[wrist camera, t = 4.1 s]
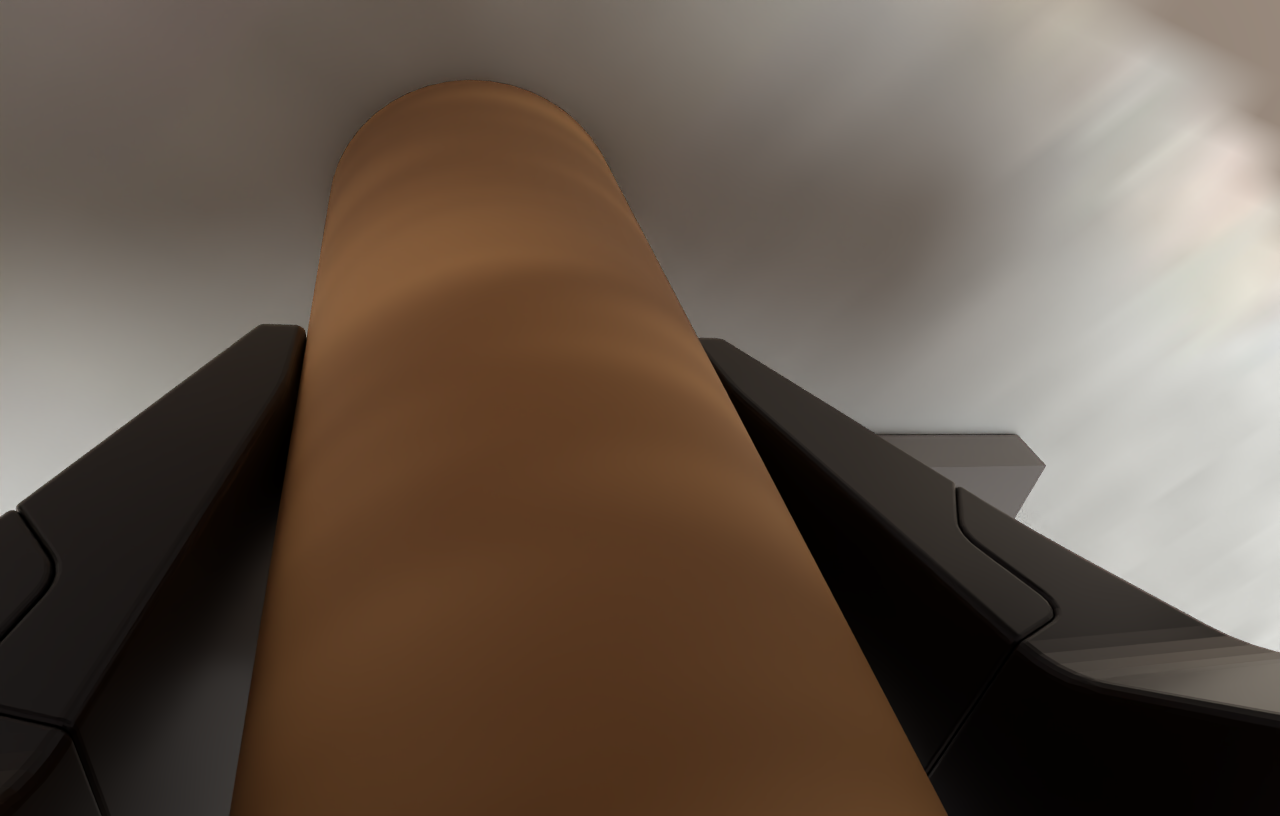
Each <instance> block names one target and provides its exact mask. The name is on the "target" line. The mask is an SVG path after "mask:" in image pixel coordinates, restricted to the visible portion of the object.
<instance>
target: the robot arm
mask: <svg viewBox="0 0 1280 816" xmlns="http://www.w3.org/2000/svg"><path fill="white" fill-rule="evenodd" d="M698 339H699V341H700V343H701V345H702V346H703V348H704V350H705V352H706V354H707V356H708V358H709V360H710V362H711V364H712V366H713V367H714V369H715V371H716V373H717V375H718V377H719V379H720V381H721V383H722V385H723V387H724V388H725V390H726V392H727V394H728V396H729V398H730V400H731V402H732V404H733V406H734V408H735V409H736V411H737V413H738V415H739V417H740V419H741V421H742V423H743V425H744V427H745V429H746V431H747V432H748V434H749V436H750V438H751V440H752V442H753V444H754V446H755V448H756V450H757V452H758V453H759V455H760V457H761V459H762V461H763V463H764V465H765V467H766V469H767V471H768V473H769V474H770V476H771V478H772V480H773V482H774V484H775V486H776V488H777V490H778V492H779V494H780V495H781V497H782V499H783V501H784V503H785V505H786V507H787V509H788V511H789V513H790V515H791V516H792V518H793V520H794V522H795V524H796V526H797V528H798V530H799V532H800V534H801V536H802V537H803V539H804V541H805V543H806V545H807V547H808V549H809V551H810V553H811V555H812V557H813V558H814V560H815V562H816V564H817V566H818V568H819V570H820V572H821V574H822V576H823V578H824V579H825V581H826V583H827V585H828V587H829V589H830V591H831V593H832V595H833V597H834V599H835V600H836V602H837V604H838V606H839V608H840V610H841V612H842V614H843V616H844V618H845V620H846V621H847V623H848V625H849V627H850V629H851V631H852V633H853V635H854V637H855V639H856V641H857V643H858V644H859V646H860V648H861V650H862V652H863V654H864V656H865V658H866V660H867V662H868V664H869V665H870V667H871V669H872V671H873V673H874V675H875V677H876V679H877V681H878V683H879V685H880V686H881V688H882V690H883V692H884V694H885V696H886V698H887V700H888V702H889V704H890V706H891V707H892V709H893V711H894V713H895V715H896V717H897V719H898V721H899V723H900V725H901V727H902V728H903V730H904V732H905V734H906V736H907V738H908V740H909V742H910V744H911V746H912V748H913V749H914V751H915V753H916V755H917V757H918V759H919V761H920V763H921V765H922V767H923V769H924V770H925V772H926V774H927V776H928V778H929V780H930V782H931V784H932V786H933V788H934V790H935V791H936V793H937V795H938V797H939V799H940V801H941V803H942V805H943V807H944V809H945V811H946V812H947V814H948V816H1280V652H1276V651H1273V650H1269V649H1266V648H1262V647H1259V646H1256V645H1252V644H1250V643H1247V642H1244V641H1242V640H1239V639H1237V638H1234V637H1232V636H1229V635H1227V634H1225V633H1223V632H1221V631H1219V630H1217V629H1215V628H1213V627H1211V626H1208V625H1206V624H1205V623H1203V622H1201V621H1199V620H1197V619H1195V618H1193V617H1192V616H1190V615H1188V614H1186V613H1184V612H1182V611H1181V610H1179V609H1177V608H1175V607H1173V606H1171V605H1169V604H1168V603H1166V602H1164V601H1162V600H1160V599H1158V598H1156V597H1155V596H1153V595H1151V594H1149V593H1147V592H1145V591H1144V590H1142V589H1140V588H1138V587H1136V586H1134V585H1132V584H1131V583H1129V582H1127V581H1125V580H1123V579H1121V578H1119V577H1118V576H1116V575H1114V574H1112V573H1110V572H1108V571H1106V570H1105V569H1103V568H1101V567H1099V566H1097V565H1095V564H1094V563H1092V562H1090V561H1088V560H1086V559H1084V558H1083V557H1081V556H1079V555H1077V554H1075V553H1074V552H1072V551H1070V550H1068V549H1066V548H1065V547H1063V546H1061V545H1059V544H1057V543H1056V542H1054V541H1052V540H1050V539H1048V538H1047V537H1045V536H1043V535H1041V534H1039V533H1038V532H1036V531H1034V530H1032V529H1031V528H1029V527H1027V526H1026V525H1024V524H1022V523H1021V522H1019V521H1017V520H1015V519H1014V518H1012V517H1010V516H1009V515H1007V514H1005V513H1004V512H1002V511H1000V510H999V509H997V508H995V507H994V506H992V505H990V504H989V503H987V502H985V501H984V500H982V499H981V498H979V497H977V496H976V495H974V494H973V493H971V492H969V491H968V490H966V489H965V488H963V487H957V488H956V486H955V483H954V482H953V481H951V480H950V479H948V478H946V477H945V476H943V475H942V474H940V473H938V472H937V471H935V470H934V469H932V468H930V467H929V466H927V465H925V464H924V463H922V462H921V461H919V460H917V459H916V458H914V457H912V456H911V455H909V454H908V453H906V452H904V451H903V450H901V449H900V448H898V447H896V446H895V445H893V444H891V443H890V442H888V441H887V440H885V439H883V438H882V437H880V436H878V435H877V434H875V433H874V432H872V431H870V430H869V429H867V428H866V427H864V426H862V425H861V424H859V423H857V422H856V421H854V420H853V419H851V418H849V417H848V416H846V415H845V414H843V413H841V412H840V411H838V410H836V409H835V408H833V407H832V406H830V405H828V404H827V403H825V402H823V401H822V400H820V399H819V398H817V397H815V396H814V395H812V394H811V393H809V392H807V391H806V390H804V389H802V388H801V387H799V386H798V385H796V384H794V383H793V382H791V381H790V380H788V379H786V378H785V377H783V376H781V375H780V374H778V373H777V372H775V371H773V370H772V369H770V368H769V367H767V366H765V365H764V364H762V363H760V362H759V361H757V360H756V359H754V358H752V357H751V356H749V355H748V354H746V353H744V352H743V351H741V350H739V349H738V348H736V347H735V346H733V345H731V344H730V343H728V342H726V341H725V340H723V339H718V338H698ZM306 340H307V338H306V333H305V330H304V329H303V328H302V327H301V326H298V325H282V324H262V325H259V326H257V327H256V328H254V329H253V330H251V331H250V332H249V333H247V334H246V335H245V336H243V337H242V338H241V339H239V340H238V341H237V342H235V343H234V344H233V345H231V346H230V347H229V348H227V349H226V350H225V351H223V352H222V353H221V354H219V355H218V356H217V357H215V358H214V359H213V360H211V361H210V362H208V363H207V364H206V365H204V366H203V367H202V368H200V369H199V370H198V371H196V372H195V373H194V374H192V375H191V376H190V377H188V378H187V379H186V380H184V381H183V382H182V383H180V384H179V385H178V386H176V387H175V388H174V389H172V390H171V391H169V392H168V393H167V394H165V395H164V396H163V397H161V398H160V399H159V400H157V401H156V402H155V403H153V404H152V405H151V406H149V407H148V408H147V409H145V410H144V411H143V412H141V413H140V414H139V415H137V416H136V417H135V418H133V419H132V420H130V421H129V422H128V423H126V424H125V425H124V426H122V427H121V428H120V429H118V430H117V431H116V432H114V433H113V434H112V435H110V436H109V437H108V438H106V439H105V440H104V441H102V442H101V443H100V444H98V445H97V446H96V447H94V448H93V449H92V450H90V451H89V452H87V453H86V454H85V455H83V456H82V457H81V458H79V459H78V460H77V461H75V462H74V463H73V464H71V465H70V466H69V467H67V468H66V469H65V470H63V471H62V472H61V473H59V474H58V475H57V476H55V477H54V478H53V479H51V480H50V481H48V482H47V483H46V484H44V485H43V486H42V487H40V488H39V489H38V490H36V491H35V492H34V493H32V494H31V495H30V496H28V497H27V498H26V499H24V500H23V501H22V502H20V503H19V504H18V505H17V507H16V511H14V510H11V511H8V512H6V513H5V514H4V515H2V516H1V517H0V816H229V814H230V808H231V802H232V796H233V789H234V783H235V777H236V771H237V765H238V759H239V752H240V746H241V740H242V734H243V728H244V722H245V715H246V709H247V703H248V697H249V691H250V685H251V678H252V672H253V666H254V660H255V654H256V648H257V641H258V635H259V629H260V623H261V617H262V611H263V604H264V598H265V592H266V586H267V580H268V574H269V567H270V561H271V555H272V549H273V543H274V537H275V530H276V524H277V518H278V512H279V506H280V500H281V493H282V487H283V481H284V475H285V469H286V463H287V456H288V450H289V444H290V438H291V432H292V426H293V420H294V414H295V408H296V402H297V396H298V389H299V383H300V377H301V371H302V365H303V359H304V352H305V346H306Z"/></svg>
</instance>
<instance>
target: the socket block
mask: <svg viewBox="0 0 1280 816" xmlns="http://www.w3.org/2000/svg"><path fill="white" fill-rule="evenodd" d="M878 436H880V437H882V438H883V439H885V440H887V441H888V442H890V443H891V444H893V445H895V446H896V447H898V448H900V449H901V450H903V451H904V452H906V453H908V454H909V455H911V456H912V457H914V458H916V459H917V460H919V461H921V462H922V463H924V464H925V465H927V466H929V467H930V468H932V469H934V470H935V471H937V472H938V473H940V474H942V475H943V476H945V477H946V478H948V479H950V480H951V481H953V482H954V483H955V486H956V488H957V487H963V488H965V489H966V490H968V491H969V492H971V493H973V494H974V495H976V496H977V497H979V498H981V499H982V500H984V501H985V502H987V503H989V504H990V505H992V506H994V507H995V508H997V509H999V510H1000V511H1002V512H1004V513H1005V514H1007V515H1009V516H1010V517H1012V518H1015V517H1016V515H1017V513H1018V512H1019V510H1020V508H1021V507H1022V505H1023V503H1024V502H1025V500H1026V498H1027V497H1028V495H1029V493H1030V492H1031V490H1032V488H1033V487H1034V485H1035V483H1036V482H1037V480H1038V478H1039V477H1040V475H1041V473H1042V471H1043V470H1044V468H1045V466H1046V465H1045V464H1044V463H1043V462H1042V461H1041V460H1040V458H1039V457H1038V456H1037V455H1036V454H1035V453H1034V452H1033V451H1032V450H1031V449H1030V448H1029V447H1028V446H1027V444H1026V443H1025V442H1024V441H1023V440H1022V439H1021V438H1020V437H1019V436H1018V435H878Z"/></svg>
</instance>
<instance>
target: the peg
mask: <svg viewBox="0 0 1280 816" xmlns="http://www.w3.org/2000/svg"><path fill="white" fill-rule="evenodd" d="M229 816H948V814H947V812H946V811H945V809H944V807H943V805H942V803H941V801H940V799H939V797H938V795H937V793H936V791H935V790H934V788H933V786H932V784H931V782H930V780H929V778H928V776H927V774H926V772H925V770H924V769H923V767H922V765H921V763H920V761H919V759H918V757H917V755H916V753H915V751H914V749H913V748H912V746H911V744H910V742H909V740H908V738H907V736H906V734H905V732H904V730H903V728H902V727H901V725H900V723H899V721H898V719H897V717H896V715H895V713H894V711H893V709H892V707H891V706H890V704H889V702H888V700H887V698H886V696H885V694H884V692H883V690H882V688H881V686H880V685H879V683H878V681H877V679H876V677H875V675H874V673H873V671H872V669H871V667H870V665H869V664H868V662H867V660H866V658H865V656H864V654H863V652H862V650H861V648H860V646H859V644H858V643H857V641H856V639H855V637H854V635H853V633H852V631H851V629H850V627H849V625H848V623H847V621H846V620H845V618H844V616H843V614H842V612H841V610H840V608H839V606H838V604H837V602H836V600H835V599H834V597H833V595H832V593H831V591H830V589H829V587H828V585H827V583H826V581H825V579H824V578H823V576H822V574H821V572H820V570H819V568H818V566H817V564H816V562H815V560H814V558H813V557H812V555H811V553H810V551H809V549H808V547H807V545H806V543H805V541H804V539H803V537H802V536H801V534H800V532H799V530H798V528H797V526H796V524H795V522H794V520H793V518H792V516H791V515H790V513H789V511H788V509H787V507H786V505H785V503H784V501H783V499H782V497H781V495H780V494H779V492H778V490H777V488H776V486H775V484H774V482H773V480H772V478H771V476H770V474H769V473H768V471H767V469H766V467H765V465H764V463H763V461H762V459H761V457H760V455H759V453H758V452H757V450H756V448H755V446H754V444H753V442H752V440H751V438H750V436H749V434H748V432H747V431H746V429H745V427H744V425H743V423H742V421H741V419H740V417H739V415H738V413H737V411H736V409H735V408H734V406H733V404H732V402H731V400H730V398H729V396H728V394H727V392H726V390H725V388H724V387H723V385H722V383H721V381H720V379H719V377H718V375H717V373H716V371H715V369H714V367H713V366H712V364H711V362H710V360H709V358H708V356H707V354H706V352H705V350H704V348H703V346H702V345H701V343H700V341H699V339H698V337H697V335H696V333H695V331H694V329H693V327H692V325H691V324H690V322H689V320H688V318H687V316H686V314H685V312H684V310H683V308H682V306H681V304H680V303H679V301H678V299H677V297H676V295H675V293H674V291H673V289H672V287H671V285H670V283H669V282H668V280H667V278H666V276H665V274H664V272H663V270H662V268H661V266H660V264H659V262H658V261H657V259H656V257H655V255H654V253H653V251H652V249H651V247H650V245H649V243H648V241H647V240H646V238H645V236H644V234H643V232H642V230H641V228H640V226H639V224H638V222H637V220H636V219H635V217H634V215H633V213H632V211H631V209H630V207H629V205H628V203H627V201H626V199H625V198H624V196H623V194H622V192H621V190H620V188H619V186H618V184H617V182H616V180H615V178H614V176H613V175H612V173H611V171H610V169H609V167H608V165H607V163H606V161H605V159H604V157H603V155H602V154H601V152H600V150H599V149H598V147H597V146H596V144H595V143H594V141H593V140H592V138H591V137H590V136H589V135H588V134H587V132H586V131H585V130H584V129H583V128H582V127H581V126H580V124H579V123H578V122H576V121H575V120H574V119H573V118H572V117H571V116H569V115H568V114H567V113H566V112H565V111H564V110H562V109H561V108H559V107H558V106H556V105H555V104H553V103H551V102H550V101H548V100H547V99H545V98H543V97H540V96H538V95H536V94H534V93H532V92H530V91H527V90H524V89H521V88H518V87H515V86H512V85H508V84H503V83H498V82H492V81H480V80H461V81H449V82H444V83H439V84H435V85H430V86H426V87H424V88H421V89H418V90H415V91H413V92H410V93H408V94H406V95H404V96H402V97H400V98H398V99H396V100H395V101H393V102H391V103H389V104H388V105H387V106H385V107H384V108H382V109H381V110H380V111H378V112H377V113H376V114H374V115H373V116H372V117H371V118H370V119H369V120H368V121H367V122H366V123H365V124H364V125H363V126H362V127H361V128H360V129H359V131H358V132H357V133H356V135H355V136H354V137H353V139H352V140H351V141H350V143H349V144H348V146H347V148H346V149H345V151H344V153H343V155H342V157H341V159H340V161H339V163H338V166H337V169H336V172H335V175H334V177H333V181H332V187H331V192H330V197H329V204H328V210H327V216H326V222H325V228H324V234H323V241H322V247H321V253H320V259H319V265H318V271H317V278H316V284H315V290H314V296H313V302H312V308H311V315H310V321H309V327H308V333H307V340H306V346H305V352H304V359H303V365H302V371H301V377H300V383H299V389H298V396H297V402H296V408H295V414H294V420H293V426H292V432H291V438H290V444H289V450H288V456H287V463H286V469H285V475H284V481H283V487H282V493H281V500H280V506H279V512H278V518H277V524H276V530H275V537H274V543H273V549H272V555H271V561H270V567H269V574H268V580H267V586H266V592H265V598H264V604H263V611H262V617H261V623H260V629H259V635H258V641H257V648H256V654H255V660H254V666H253V672H252V678H251V685H250V691H249V697H248V703H247V709H246V715H245V722H244V728H243V734H242V740H241V746H240V752H239V759H238V765H237V771H236V777H235V783H234V789H233V796H232V802H231V808H230V814H229Z"/></svg>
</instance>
